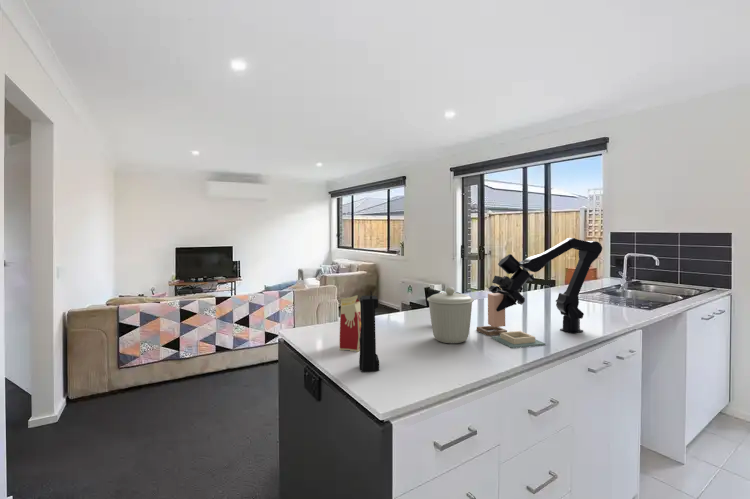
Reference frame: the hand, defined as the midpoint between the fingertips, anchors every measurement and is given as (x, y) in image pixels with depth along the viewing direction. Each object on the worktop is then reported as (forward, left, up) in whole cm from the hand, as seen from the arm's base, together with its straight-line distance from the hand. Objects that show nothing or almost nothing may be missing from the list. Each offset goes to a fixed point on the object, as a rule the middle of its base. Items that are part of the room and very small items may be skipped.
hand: (493, 309), depth 150 cm
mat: (0, +12, -10) cm, 16 cm away
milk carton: (+59, -12, -11) cm, 61 cm away
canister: (+21, -2, -11) cm, 23 cm away
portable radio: (+62, +10, -10) cm, 63 cm away
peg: (-1, 0, -7) cm, 7 cm away
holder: (-1, -3, -10) cm, 11 cm away
